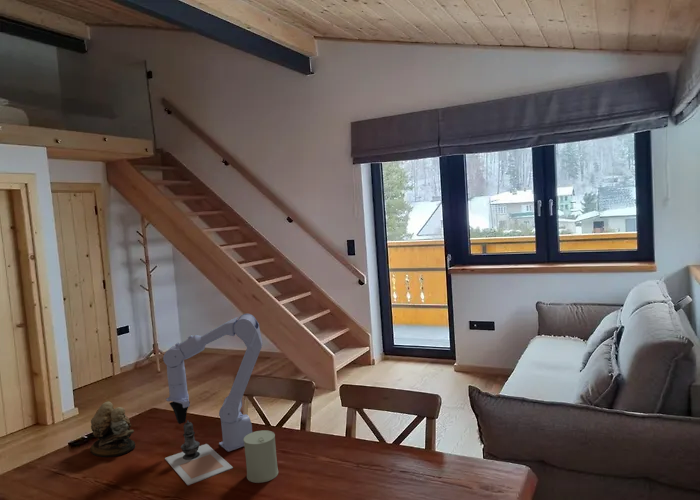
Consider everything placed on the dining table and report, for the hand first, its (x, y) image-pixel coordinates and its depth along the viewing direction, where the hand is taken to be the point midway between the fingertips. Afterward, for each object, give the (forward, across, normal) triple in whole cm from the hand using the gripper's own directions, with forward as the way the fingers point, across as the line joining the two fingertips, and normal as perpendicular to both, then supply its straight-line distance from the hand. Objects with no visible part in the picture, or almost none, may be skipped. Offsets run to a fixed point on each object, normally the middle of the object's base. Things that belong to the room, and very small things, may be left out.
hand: (181, 422), depth 171 cm
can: (+10, +34, +12) cm, 37 cm away
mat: (+9, +13, 0) cm, 16 cm away
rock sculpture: (+10, -19, -18) cm, 28 cm away
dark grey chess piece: (+9, +7, 0) cm, 11 cm away
